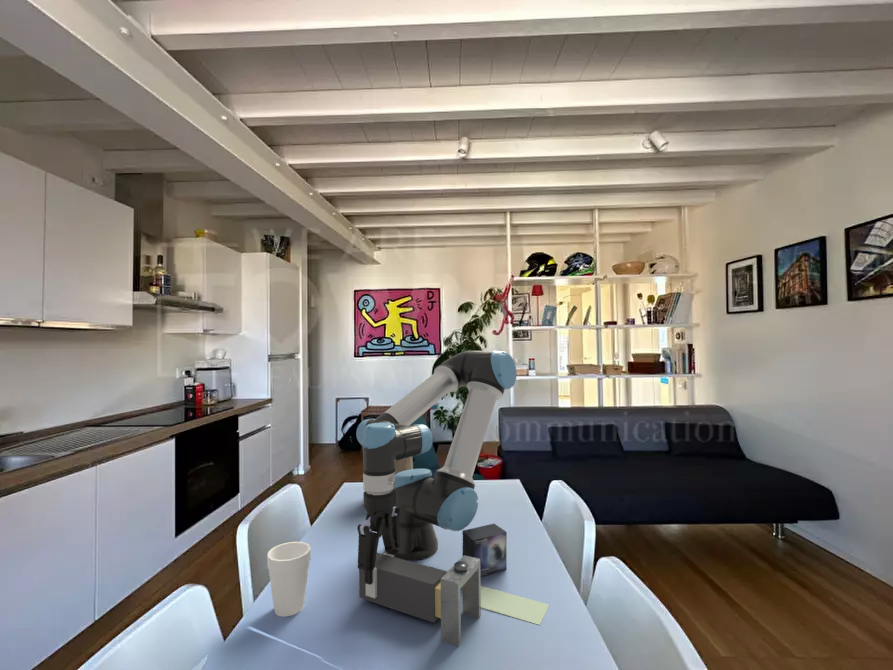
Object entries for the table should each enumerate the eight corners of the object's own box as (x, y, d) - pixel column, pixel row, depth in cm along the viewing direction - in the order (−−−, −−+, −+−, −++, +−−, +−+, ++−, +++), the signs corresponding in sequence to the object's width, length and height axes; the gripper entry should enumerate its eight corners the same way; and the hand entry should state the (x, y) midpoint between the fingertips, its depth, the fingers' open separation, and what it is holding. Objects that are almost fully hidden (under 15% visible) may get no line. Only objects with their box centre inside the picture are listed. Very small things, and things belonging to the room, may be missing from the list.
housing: (441, 640, 88) (440, 574, 88) (464, 611, 98) (464, 551, 98) (458, 647, 86) (458, 579, 86) (480, 616, 96) (480, 555, 96)
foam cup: (285, 626, 93) (284, 565, 93) (258, 612, 98) (258, 554, 98) (319, 603, 101) (319, 547, 101) (293, 592, 106) (293, 538, 106)
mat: (463, 603, 101) (463, 601, 101) (477, 586, 108) (477, 584, 108) (539, 626, 92) (539, 624, 92) (549, 606, 99) (549, 604, 99)
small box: (473, 581, 110) (473, 539, 110) (461, 569, 116) (460, 530, 116) (508, 571, 115) (507, 531, 115) (494, 560, 121) (493, 522, 121)
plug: (359, 597, 101) (359, 563, 101) (375, 584, 106) (374, 551, 107) (440, 624, 91) (439, 586, 91) (453, 609, 96) (452, 572, 97)
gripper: (366, 505, 92) (367, 615, 92) (414, 480, 109) (415, 573, 109) (339, 500, 96) (340, 605, 95) (390, 476, 113) (390, 566, 112)
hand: (380, 588), depth 102 cm, fingers closed on plug, 6 cm apart
